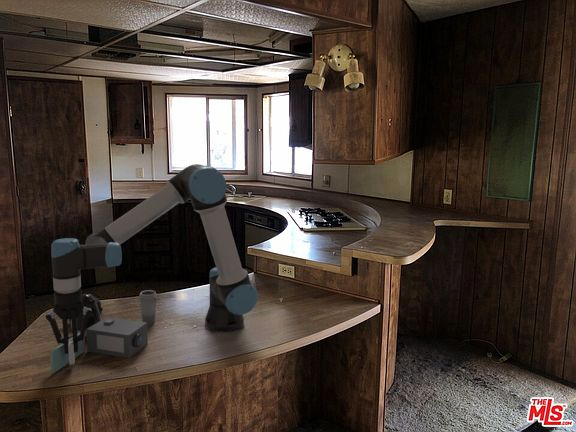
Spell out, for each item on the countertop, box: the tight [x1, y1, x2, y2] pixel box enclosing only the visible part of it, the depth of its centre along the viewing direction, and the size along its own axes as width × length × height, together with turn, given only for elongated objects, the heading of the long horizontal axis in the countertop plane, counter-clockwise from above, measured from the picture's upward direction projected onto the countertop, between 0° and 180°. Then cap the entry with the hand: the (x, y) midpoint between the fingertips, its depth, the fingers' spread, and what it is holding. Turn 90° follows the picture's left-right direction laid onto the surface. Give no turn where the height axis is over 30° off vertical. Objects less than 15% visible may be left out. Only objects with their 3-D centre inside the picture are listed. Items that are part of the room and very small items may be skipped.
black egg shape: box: [70, 293, 102, 338], centre depth 165 cm, size 10×10×15 cm
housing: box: [86, 316, 149, 359], centre depth 156 cm, size 18×11×9 cm, turn 76°
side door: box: [48, 333, 86, 374], centre depth 145 cm, size 16×2×7 cm, turn 169°
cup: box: [138, 289, 158, 325], centre depth 178 cm, size 7×7×12 cm
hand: (72, 362), depth 142 cm, fingers closed
